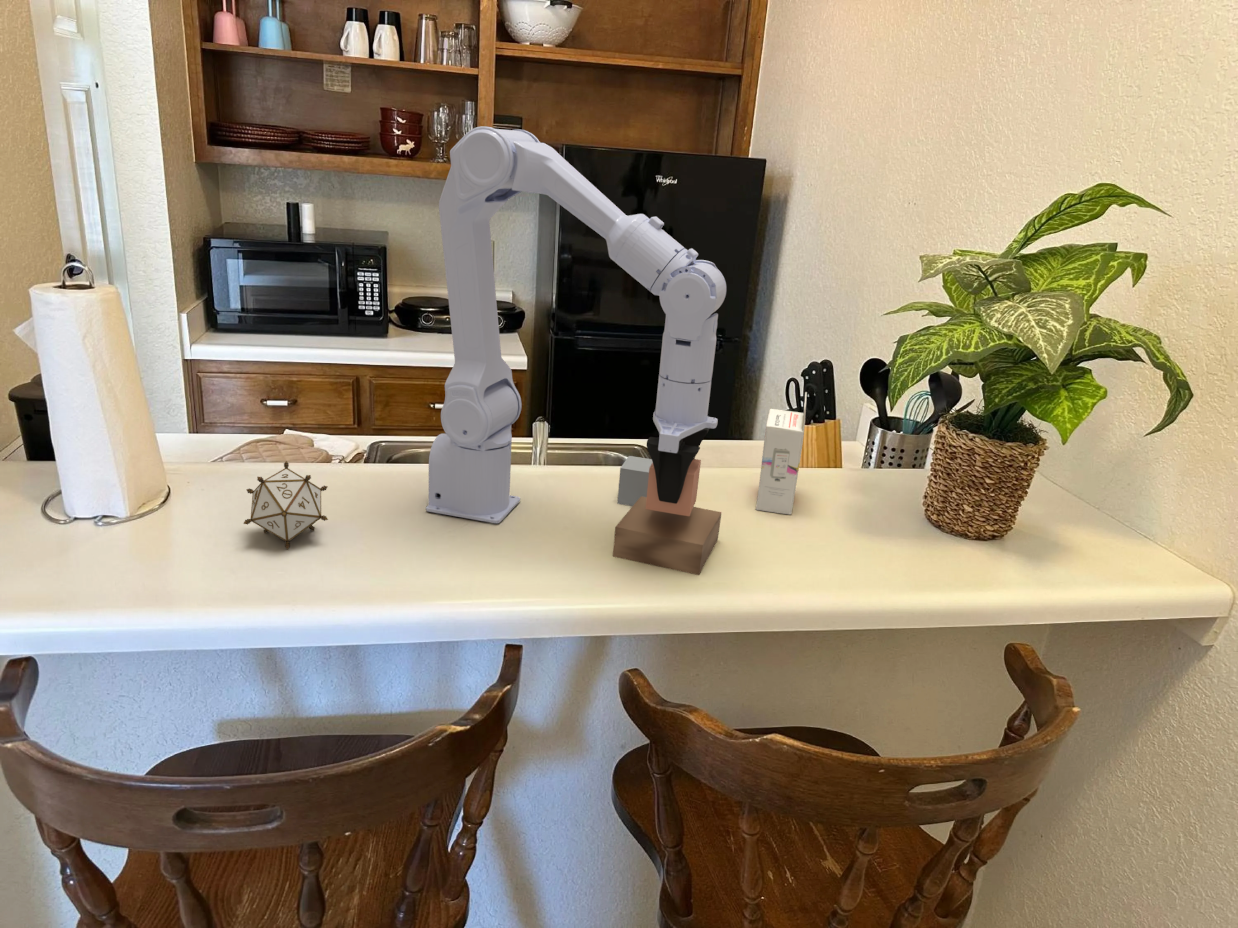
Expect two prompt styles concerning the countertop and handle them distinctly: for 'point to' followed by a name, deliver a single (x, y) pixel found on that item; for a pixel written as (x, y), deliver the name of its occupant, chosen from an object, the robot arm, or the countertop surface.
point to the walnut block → (667, 537)
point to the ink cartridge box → (781, 460)
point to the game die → (286, 504)
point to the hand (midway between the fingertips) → (672, 492)
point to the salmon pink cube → (686, 497)
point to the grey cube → (633, 480)
